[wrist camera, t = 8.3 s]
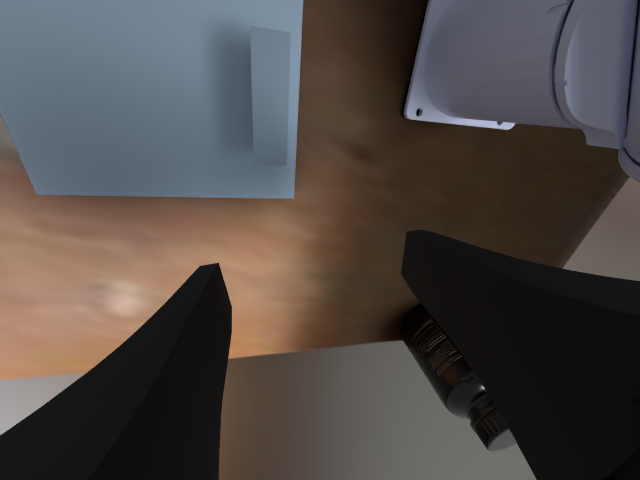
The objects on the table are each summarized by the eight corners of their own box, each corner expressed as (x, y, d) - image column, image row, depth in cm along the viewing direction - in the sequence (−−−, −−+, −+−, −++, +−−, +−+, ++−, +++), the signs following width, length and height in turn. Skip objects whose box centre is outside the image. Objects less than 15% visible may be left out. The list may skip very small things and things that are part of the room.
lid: (299, -12, 13) (324, -76, 8) (291, 191, 18) (303, 223, 14) (-54, -88, 10) (-342, -264, 5) (56, 186, 15) (-37, 226, 10)
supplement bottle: (402, 348, 32) (473, 468, 21) (394, 313, 28) (474, 437, 18) (452, 327, 32) (546, 435, 21) (450, 290, 28) (562, 398, 18)
